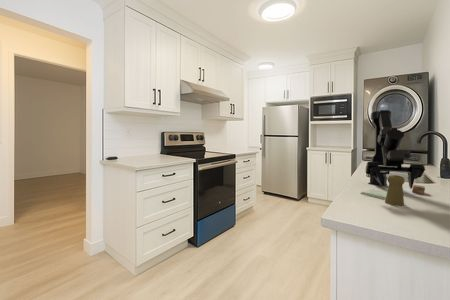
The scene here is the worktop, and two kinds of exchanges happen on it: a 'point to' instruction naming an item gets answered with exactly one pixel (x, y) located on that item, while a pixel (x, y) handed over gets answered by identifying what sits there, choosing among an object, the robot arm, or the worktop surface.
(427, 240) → the worktop surface
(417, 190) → the brick
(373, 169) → the robot arm
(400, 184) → the cork
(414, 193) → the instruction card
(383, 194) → the baseplate
